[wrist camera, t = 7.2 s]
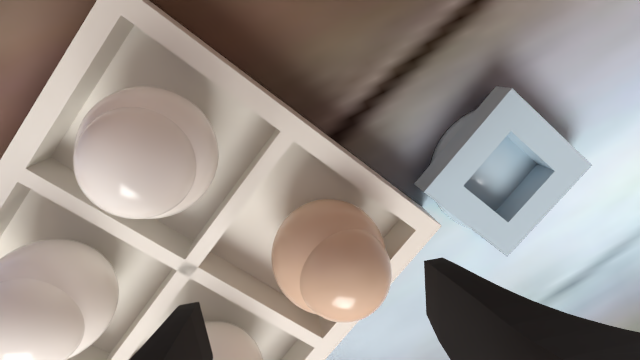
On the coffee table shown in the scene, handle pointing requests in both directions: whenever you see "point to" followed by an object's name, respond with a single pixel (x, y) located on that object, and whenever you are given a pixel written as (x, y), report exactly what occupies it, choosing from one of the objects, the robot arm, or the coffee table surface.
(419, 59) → the coffee table surface
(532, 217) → the egg cup
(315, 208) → the brown egg
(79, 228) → the carton
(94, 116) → the white eggs
